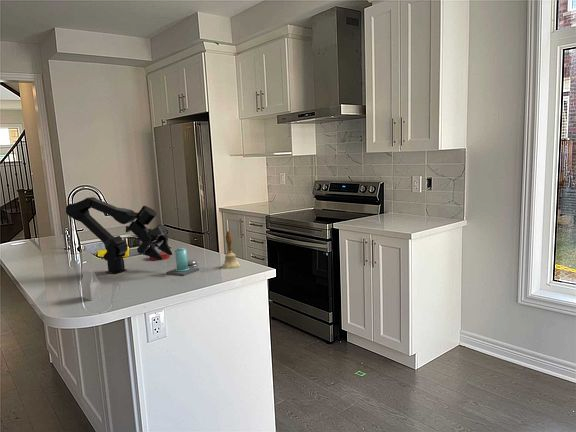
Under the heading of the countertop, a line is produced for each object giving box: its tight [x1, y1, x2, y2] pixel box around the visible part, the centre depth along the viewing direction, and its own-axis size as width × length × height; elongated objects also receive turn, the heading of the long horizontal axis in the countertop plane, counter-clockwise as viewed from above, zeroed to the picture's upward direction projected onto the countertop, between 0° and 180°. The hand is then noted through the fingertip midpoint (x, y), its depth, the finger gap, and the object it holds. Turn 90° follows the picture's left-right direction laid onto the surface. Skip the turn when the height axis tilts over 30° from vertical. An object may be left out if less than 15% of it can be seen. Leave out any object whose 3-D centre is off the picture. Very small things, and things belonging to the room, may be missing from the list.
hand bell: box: [221, 230, 241, 269], centre depth 199 cm, size 8×8×16 cm
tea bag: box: [80, 269, 102, 302], centre depth 162 cm, size 4×7×10 cm, turn 51°
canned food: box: [148, 246, 171, 262], centre depth 224 cm, size 11×10×10 cm
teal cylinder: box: [174, 247, 189, 272], centre depth 193 cm, size 6×6×10 cm
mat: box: [165, 267, 200, 277], centre depth 194 cm, size 10×10×1 cm
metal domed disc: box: [187, 259, 199, 268], centre depth 204 cm, size 6×6×2 cm
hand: (166, 257), depth 194 cm, fingers open, 9 cm apart
